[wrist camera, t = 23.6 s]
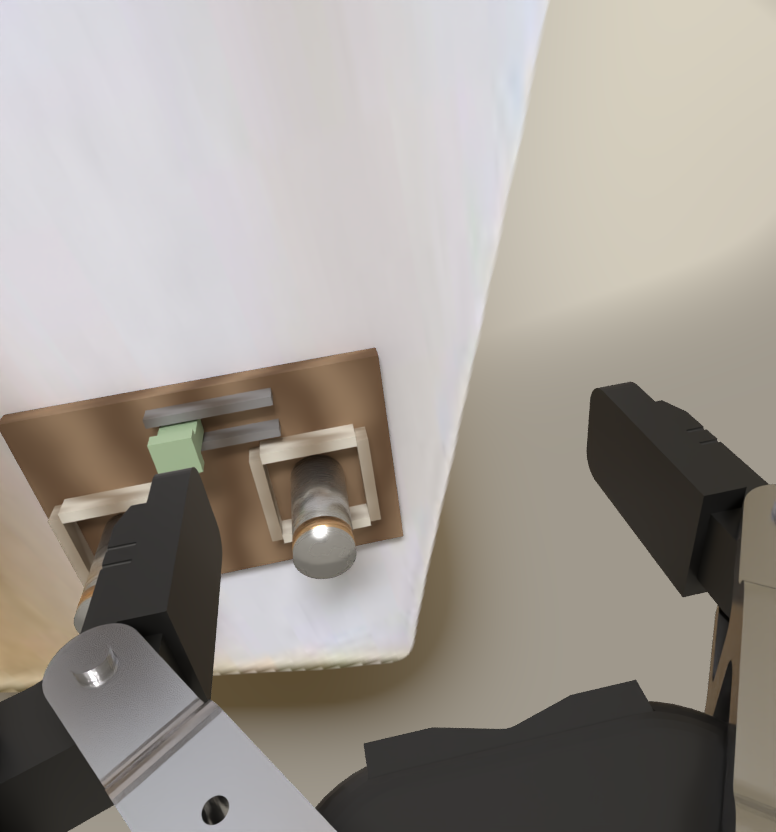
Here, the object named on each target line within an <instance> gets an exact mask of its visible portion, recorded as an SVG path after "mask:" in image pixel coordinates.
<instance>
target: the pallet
mask: <svg viewBox="0 0 776 832" xmlns="http://www.w3.org/2000/svg"><path fill="white" fill-rule="evenodd" d="M196 419H200V420H201V423H202V426H203V429H204V434H203V441H202V447H201V454H202V457H203V460H204V469H203V472H200V473H199V474H200V477H201V480H202V482H203V485H204V488H205V491H206V494H207V497H208V499H209V502H210V505H211V508H212V511H213V513H214V516H215V519H216V522H217V525H218V528H219V532H220V536H221V543H222V568H221V574H223V573H228V572H232V571H237V570H242V569H247V568H252V567H257V566H261V565H266V564H271V563H276V562H281V561H285V560H290V559H293V554H292V515H291V483H290V475H291V471H292V469H293V467H294V466H295V465H296V464H297V463H298V462H299V461H300V460H302V459H304V458H306V457H308V456H312V455H325V456H329V457H331V458H333V459H335V460H336V461H338V462H339V463H340V465H341V466H342V468H343V471H344V476H345V483H346V489H347V495H348V502H349V508H350V515H351V521H352V527H353V533H354V539H355V545H356V546H358V545H363V544H367V543H372V542H377V541H382V540H387V539H391V538H396V537H401V536H403V530H402V523H401V516H400V509H399V501H398V494H397V487H396V480H395V473H394V466H393V458H392V451H391V444H390V437H389V430H388V422H387V415H386V408H385V401H384V394H383V387H382V379H381V372H380V365H379V358H378V354H377V351H376V348H371V349H365V350H360V351H354V352H349V353H343V354H338V355H332V356H327V357H321V358H316V359H310V360H305V361H299V362H294V363H288V364H283V365H277V366H272V367H266V368H261V369H255V370H250V371H244V372H239V373H233V374H228V375H222V376H217V377H211V378H206V379H200V380H195V381H189V382H184V383H178V384H173V385H167V386H162V387H156V388H151V389H145V390H139V391H134V392H128V393H123V394H117V395H112V396H106V397H101V398H95V399H90V400H84V401H79V402H73V403H68V404H62V405H57V406H51V407H46V408H40V409H35V410H29V411H24V412H18V413H13V414H7V415H3V417H2V418H1V420H0V432H1V434H2V436H3V437H4V439H5V441H6V443H7V445H8V446H9V448H10V450H11V452H12V454H13V456H14V457H15V459H16V461H17V463H18V465H19V466H20V468H21V470H22V472H23V474H24V475H25V477H26V479H27V481H28V483H29V485H30V486H31V488H32V490H33V492H34V494H35V495H36V497H37V499H38V501H39V503H40V505H41V506H42V508H43V510H44V512H45V514H46V515H47V517H48V519H49V520H48V523H49V525H50V527H51V528H52V530H53V532H54V534H55V536H56V537H57V539H58V541H59V543H60V545H61V547H62V548H63V550H64V552H65V554H66V556H67V557H68V559H69V561H70V563H71V565H72V566H73V568H74V570H75V572H76V574H77V575H78V577H79V579H80V581H81V583H82V584H83V586H84V587H85V584H86V581H87V578H88V575H89V572H90V569H91V566H92V563H93V560H94V557H95V554H96V551H97V548H98V545H99V542H100V539H101V536H102V533H103V529H104V527H105V524H106V523H107V521H108V520H109V519H111V518H112V517H114V516H116V515H118V514H121V513H125V512H126V511H127V510H128V508H129V507H130V506H132V505H137V504H142V503H147V499H148V495H149V491H150V487H151V483H152V479H153V477H154V475H155V474H158V472H157V469H156V467H155V464H154V462H153V459H152V457H151V454H150V452H149V449H148V447H147V445H148V441H149V438H150V437H153V436H157V435H158V431H159V427H160V426H164V425H170V424H175V423H180V422H186V421H191V420H196Z"/></svg>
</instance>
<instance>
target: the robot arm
mask: <svg viewBox="0 0 776 832" xmlns="http://www.w3.org/2000/svg"><path fill="white" fill-rule="evenodd" d="M587 460H588V464H589V468H590V471H591V473H592V475H593V477H594V479H595V481H596V482H597V483H598V484H599V486H600V487H601V489H602V490H603V491H604V493H605V494H606V495H607V497H608V498H609V499H610V501H611V502H612V503H613V505H614V506H615V507H616V509H617V510H618V511H619V513H620V514H621V515H622V517H623V518H624V519H625V521H626V522H627V523H628V525H629V526H630V527H631V529H632V530H633V531H634V533H635V534H636V535H637V537H638V538H639V539H640V541H641V542H642V543H643V545H644V546H645V547H646V549H647V550H648V551H649V553H650V554H651V556H652V557H653V558H654V559H655V561H656V562H657V564H658V565H659V566H660V568H661V569H662V570H663V571H664V573H665V574H666V576H667V577H668V578H669V580H670V581H671V582H672V583H673V585H674V586H675V587H676V589H677V590H678V592H679V593H680V594H681V596H682V597H686V596H690V595H695V594H700V593H704V592H708V593H709V594H710V596H711V597H712V598H713V599H714V601H715V602H716V603H717V604H718V605H717V609H716V614H715V622H714V631H713V641H712V652H711V661H710V672H709V681H708V691H707V700H706V706H705V712H704V713H703V712H700V711H697V710H694V709H691V708H687V707H683V706H679V705H675V704H669V703H662V702H653V701H648V700H647V698H646V697H645V695H644V693H643V691H642V690H641V688H640V686H639V684H638V683H637V681H636V680H633V681H629V682H625V683H620V684H616V685H612V686H608V687H603V688H599V689H595V690H590V691H586V692H582V693H578V694H574V695H570V696H568V697H566V698H565V699H563V700H561V701H559V702H558V703H556V704H554V705H552V706H550V707H548V708H547V709H545V710H543V711H541V712H539V713H537V714H536V715H534V716H532V717H530V718H528V719H527V720H525V721H523V722H521V723H519V724H517V725H516V726H513V727H511V728H507V729H474V728H428V729H424V730H420V731H415V732H411V733H407V734H403V735H398V736H394V737H390V738H385V739H381V740H377V741H373V742H369V743H364V749H365V757H366V763H367V767H364V768H363V769H361V770H359V771H357V772H355V773H354V774H352V775H351V776H349V777H348V778H347V779H345V780H344V781H342V782H341V783H340V784H338V785H337V786H336V787H335V788H334V789H333V790H332V791H331V792H330V793H328V794H327V795H326V796H325V797H324V798H323V799H322V801H321V802H320V803H319V804H318V805H317V806H316V807H315V808H314V807H313V806H312V805H311V804H310V802H309V801H308V800H307V799H306V798H305V797H304V796H303V795H302V794H301V793H300V792H299V791H298V790H297V789H296V788H295V787H294V785H292V783H291V782H290V781H289V780H288V779H287V778H286V777H285V776H284V775H283V774H282V773H281V772H280V771H279V770H278V769H277V767H276V766H275V765H274V764H273V763H272V762H271V761H270V760H269V759H268V758H267V757H266V756H265V755H264V754H263V753H262V752H261V750H260V749H259V748H258V747H257V746H256V745H255V744H254V743H253V742H252V741H251V740H250V739H249V738H248V737H247V736H246V734H245V733H244V732H243V731H242V730H241V729H240V728H239V727H238V726H237V725H236V724H235V723H234V722H233V721H232V720H231V719H230V717H229V716H227V714H226V713H225V712H224V711H223V710H222V709H221V708H220V707H219V706H218V705H217V704H216V703H214V702H213V701H212V700H210V699H211V688H212V676H213V664H214V652H215V640H216V628H217V616H218V604H219V592H220V580H221V568H222V543H221V536H220V532H219V528H218V525H217V522H216V519H215V516H214V513H213V511H212V508H211V505H210V502H209V499H208V497H207V494H206V491H205V488H204V485H203V482H202V480H201V477H200V474H199V472H198V470H197V469H196V468H195V467H191V468H186V469H181V470H176V471H170V472H165V473H160V474H155V475H154V477H153V479H152V483H151V487H150V491H149V495H148V499H147V503H142V504H137V505H132V506H130V507H129V508H128V510H127V511H126V512H125V513H124V514H123V516H122V517H121V518H120V519H119V521H118V522H117V523H116V524H115V525H114V527H113V530H112V534H111V537H110V540H109V543H108V546H107V549H108V552H106V553H105V556H104V559H103V562H102V569H101V570H100V572H99V575H98V579H97V582H96V585H95V588H94V591H93V595H92V598H91V601H90V604H89V607H88V611H87V614H86V617H85V620H84V624H83V627H82V630H81V633H80V634H79V635H78V636H76V637H75V638H73V639H72V640H71V641H69V642H68V643H67V644H65V645H64V646H63V647H62V648H61V649H60V650H59V651H58V652H57V654H56V655H55V656H54V657H53V659H52V660H51V662H50V663H49V665H48V667H47V669H46V671H45V674H44V677H43V680H42V681H40V682H39V683H37V684H36V685H34V686H32V687H30V688H28V689H26V690H25V691H22V692H20V693H18V694H16V695H14V696H12V697H10V698H8V699H6V700H4V701H1V702H0V832H67V831H69V830H71V829H73V828H74V827H76V826H78V825H80V824H81V823H83V822H85V821H86V820H88V819H90V818H92V817H94V816H95V815H97V814H99V813H100V812H102V811H104V810H106V809H108V808H110V807H111V806H113V805H115V807H116V808H117V809H118V811H119V813H120V814H121V816H122V817H123V819H124V820H125V822H126V823H127V825H128V827H129V828H130V830H131V831H132V832H776V484H768V483H767V482H766V481H764V480H763V479H762V478H761V477H760V476H759V475H758V474H756V473H755V472H754V471H753V470H752V469H751V468H750V467H749V466H747V465H746V464H745V463H744V462H743V461H742V460H741V459H740V458H738V457H737V456H736V455H735V454H734V453H733V452H732V451H730V450H729V449H728V448H727V447H726V446H725V445H724V444H723V443H721V442H718V441H717V438H716V437H715V436H713V435H712V434H711V433H710V432H709V431H708V430H704V429H703V426H702V425H701V424H700V423H699V422H698V421H696V420H695V419H694V418H693V417H692V416H691V415H690V414H689V413H687V412H686V411H684V410H682V409H680V408H677V407H675V406H673V405H671V404H669V403H667V402H664V401H662V400H661V401H657V402H655V401H654V400H653V399H652V398H651V397H650V396H648V395H647V394H646V393H645V392H644V391H643V390H642V389H641V388H640V387H639V386H638V385H637V384H635V383H633V382H627V383H622V384H617V385H611V386H606V387H601V388H596V389H594V390H593V392H592V394H591V398H590V411H589V425H588V439H587Z"/></svg>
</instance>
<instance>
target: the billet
mask: <svg viewBox="0 0 776 832" xmlns="http://www.w3.org/2000/svg"><path fill="white" fill-rule="evenodd" d="M290 483H291V515H292V554H293V562H294V565H295V567H296V568H297V569H298V571H300V572H301V573H302V574H304V575H306V576H308V577H311V578H316V579H327V578H332V577H336V576H338V575H341V574H342V573H344V572H346V571H347V570H348V569H349V568H350V567H351V566H352V565H353V563H354V561H355V559H356V545H355V539H354V533H353V527H352V521H351V515H350V508H349V502H348V495H347V489H346V483H345V476H344V471H343V468H342V466H341V465H340V463H339V462H338V461H336V460H335V459H333V458H331V457H329V456H325V455H312V456H308V457H306V458H304V459H302V460H300V461H299V462H298V463H297V464H296V465H295V466H294V467H293V469H292V471H291V475H290Z"/></svg>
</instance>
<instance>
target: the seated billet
mask: <svg viewBox="0 0 776 832" xmlns="http://www.w3.org/2000/svg"><path fill="white" fill-rule="evenodd" d="M123 514H124V513H121V514H118V515H116V516H114V517H112V518H111V519H109V520H108V521H107V523H106V524H105V527H104V529H103V533H102V536H101V539H100V542H99V545H98V548H97V551H96V554H95V557H94V560H93V563H92V566H91V569H90V572H89V575H88V578H87V581H86V584H85V587H84V590H83V593H82V596H81V598H80V601H79V604H78V607H77V610H76V614H75V617H74V626H75V628H76V630H77V631H78V633H79V634H80V633H81V630H82V627H83V624H84V620H85V617H86V614H87V611H88V607H89V604H90V601H91V598H92V595H93V591H94V588H95V585H96V582H97V579H98V575H99V572H100V570H101V569H102V562H103V559H104V556H105V553H106V552H108V549H107V546H108V543H109V540H110V537H111V534H112V530H113V527H114V525H115V524H116V523H117V522H118V521H119V519H120V518H121V517H122V516H123Z"/></svg>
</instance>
